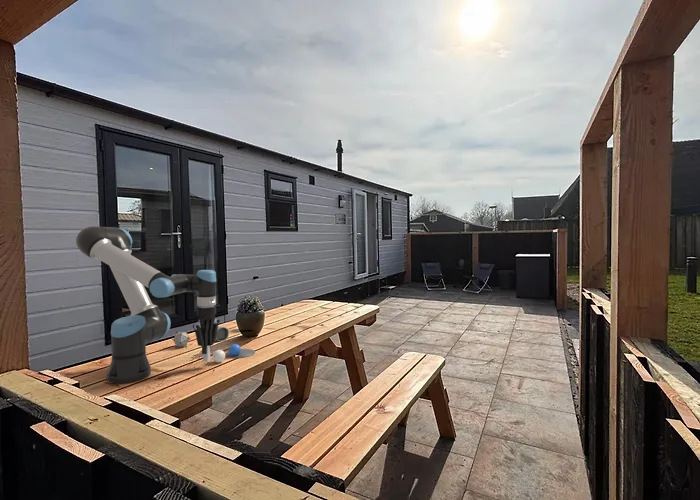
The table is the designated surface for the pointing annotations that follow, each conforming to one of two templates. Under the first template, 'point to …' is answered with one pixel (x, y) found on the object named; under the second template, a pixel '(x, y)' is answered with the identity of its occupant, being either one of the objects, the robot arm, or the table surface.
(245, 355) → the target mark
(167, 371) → the table surface
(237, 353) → the blue ball
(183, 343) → the grey spiked polyhedron
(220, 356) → the white ball
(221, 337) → the ceramic mug
